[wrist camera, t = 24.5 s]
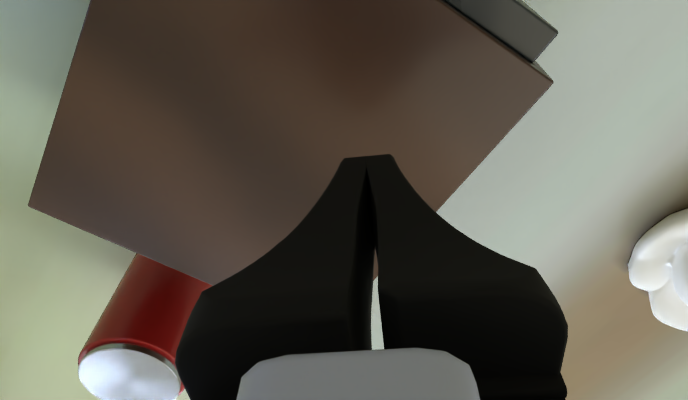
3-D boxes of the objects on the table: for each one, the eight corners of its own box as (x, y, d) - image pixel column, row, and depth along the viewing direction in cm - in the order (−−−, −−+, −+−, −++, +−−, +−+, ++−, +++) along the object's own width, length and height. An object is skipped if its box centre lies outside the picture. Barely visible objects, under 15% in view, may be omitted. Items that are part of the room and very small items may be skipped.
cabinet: (217, -183, 17) (151, -203, 12) (503, 24, 21) (555, 82, 15) (102, 127, 24) (26, 206, 19) (331, 240, 28) (325, 334, 22)
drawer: (300, -359, 14) (276, -451, 10) (593, -102, 18) (666, -90, 13) (120, 107, 23) (66, 163, 18) (341, 220, 26) (338, 289, 22)
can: (140, 222, 27) (71, 335, 21) (229, 242, 28) (189, 359, 22) (136, 283, 30) (73, 401, 24) (216, 301, 31) (178, 420, 24)
